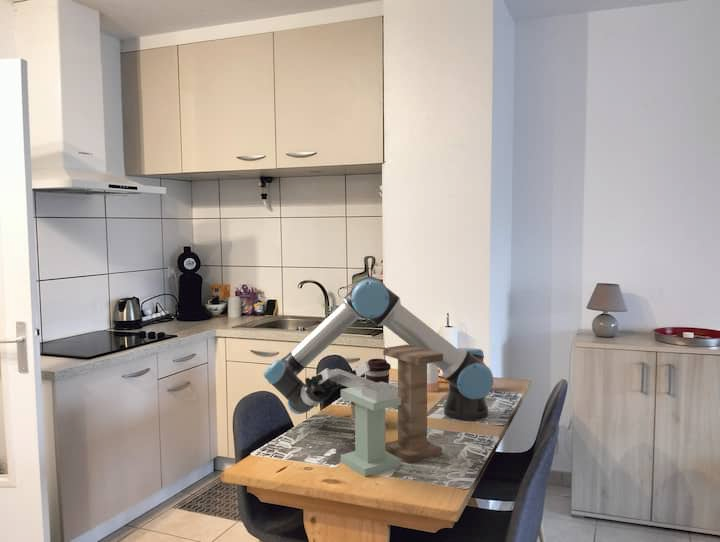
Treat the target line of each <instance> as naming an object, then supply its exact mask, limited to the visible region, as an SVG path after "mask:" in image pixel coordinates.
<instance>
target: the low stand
mask: <svg viewBox="0 0 720 542" xmlns="http://www.w3.org/2000/svg"><path fill="white" fill-rule="evenodd" d="M340 397H341V398H343V399H345V400H347V401H350V402H351V401H352V402H354V403H355V418H354V431H355V432H354V438H355V439H354V441H355V442H354V443H355V445H354V447H355V448H354V449H355V450H354V451H350V452H347V453H342V454H340V463H342V464H343V465H345V466H346V467H349V468H350V469H351V470H352V471H355V472H356V473H358V474H360V475H362V476H363V477H368V476H372V475H374V474H378V473H382V472H384V471H389V470H392V469H396V468H399V467H401V466H402V465H401V461H402V460H401V459H400V458H398V457H396V456H394V455H392V454H390V453H388V452H386V451H385V443H386V409H388V408H392V407H398V405H401V397H398V398H396V399H391V400H387V401H382V402H377V403H376V402H374V401H371V400H369V399H367V398H364V397H362V396H361V392H358V391H356V390H354V389H351V388H349V387H346V388H341V389H340Z"/></svg>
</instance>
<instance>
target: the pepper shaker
mask: <svg viewBox="0 0 720 542" xmlns="http://www.w3.org/2000/svg"><path fill="white" fill-rule="evenodd" d="M439 372H440V371H439V368H438V367H437V366H436V365H434V364H433V363H428V364H427V393H437V392H439V391H440V381H439Z"/></svg>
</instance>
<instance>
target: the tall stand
mask: <svg viewBox="0 0 720 542" xmlns="http://www.w3.org/2000/svg"><path fill="white" fill-rule="evenodd" d="M382 355H383V356H386V357H389V358H393V359H396V360H397V387H398V397H401V405H398V406H397V440H393V441H389V442H385V451H386V452H388V453H390V454H392V455H394V456H396V457H398V458H400V459H401V461H403V462H405V463H407V464H409V465H410V464H412V463H416V462H419V461H423V460H427V459H429V458H434V457H437V456H440V455H442V454H443V453H442V452H443V451H442V450H443V448H442V446H439V445H437V444H434V443H433V442H430V441H428V392H427V364H428V363H433V362H439V361H443V354H442V353H438V352H434V351H430V350H427V349H423V348H419V347H415V346H411V345H409V344H402V345H396V346H387V347H383V353H382Z"/></svg>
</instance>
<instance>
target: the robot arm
mask: <svg viewBox="0 0 720 542" xmlns="http://www.w3.org/2000/svg"><path fill="white" fill-rule="evenodd" d="M342 301H343V302H342V303H341V304H340V305H338V307H337V308H336V309H335V310H334V311H332V312H331V313H330V314H329V315H328V316H327V317H326V318H325V319H324V320H323V321H321V322H320V323H319V325H318V326H316V327H315V328H314V329H313V330H312V331H311V332H310V333H309V334H308V335H307V336H306V337H305V338H303V339H302V340H301V341H300V342H299V343H298V344H297V345H296V346H295V347H293V349H292V350H291V351H290V352H288V354H287V355H285V356H284V357H282V358H281V359H276V360H275V361H273V362H272V363H271V364H270V365H269V367H267V368H266V370H265V371H264V372H263V377H264V378H265V379H266V381H267V382H268V383H269V384H270V385H271V386H273V388H274V389H276V390H277V392H279V393H280V394H281V395H282V396H283V397H285V399H286V400H287V406H288V408H289V410H290V411H291V412H292V413H293V414H296V415H302V414H306V413H307V412H309V411H311V410H312V409H314V408H317V407H318V406H319V404H321V403H323V402H325V401H326V400H328V399H329V398H330V397H331V395H332V394H333V391H334V390H335V389H337V388H343V387H345V386H344V385H341V384H339V383H336V382H334V381H331V380H329V378H330V377H331V376H330V372H329V370H330V369H329V367H326V368H324V369H323V370H322V371H320V372H318V373H317V374H316V375H315V376H314V375H313V376H311V378H310V377H306V378H305V379H304V381H305V382H304V381H302V379H300V378H299V377H298V376H299V374H300V373H302V371H303V370H304V369H306V367H307V366H308V365H310V364H311V363H312V362H313V361H314V360H315V359H316V358H317V357H319V355H321V353H322V352H324V350H326V349H327V348H328V347H329V346H330V345H331V344H332V343H333V342H335V340H337V339H338V338H339V337H340V336H341V335H342V334H343V333H344V332H345V331H346V330H347V329H349V328H350V327H351V326H352V325H353V324H354V323H355V322H356V321H357V320H358V319H364V318H366V319H367V320H369V321H371V322H372V323H373V324H374V325H375V326H377V327H382V326H384V327H385V328H387V329H388V330H390V331H391V332H392V333H393V334H394V335H396V336H398V338H400V339H401V340H403V342H405V343H406V344H407V345H411V346H415V347H419V348H423V349H427V350H430V351H434V352H438V353H442V354H443V361H439V362H433V364H434V365H436V366H437V367H438V369H439V370H441V371H442V375H443V376H442V377H443V379H445V380H446V381H448V384H449V385H448V387H449V389H448V393H447V396H446V400H445V403H444V405H443V414H444V415H445V417H448V418H451V419H454V420H459V421H480V420H483V419H486V418H487V417H488V416H489V408H488V404H487V401H486V398H485V397H486V396H487V395H488V394H490V392H491V390H492V388H493V386H494V376H493V373H492V370H491V369H490V368H489V367H488V366H487V364H485V362H484V358H485V354H484V350H483V349H481V348H480V349H479V348H473V347H472V348H471V347H470V348H469V347H467V348H464V347H463V348H462V347H460V348H458V347H456V346H454V345H453V344H452V343H450V342H449V341H448V340H447V339H445V338H444V337H443V336H442V335H440V334H439V333H438V332H437V331H435V330H434V329H433V328H431V327H430V326H429V325H428V324H426V323H425V322H424V321H423V320H421V319H420V318H419V317H417V316H416V315H414V314H413V313H412V312H411V311H409V309H407V308H406V307H405V306H403V304H402V303H401V298H400V296H398V295H397V294H396V293H394V292H393V291H392V290H390V289H389V288H388V287H387V286H386V284H385V283H384V282H383V281H382V280H381V279H379V278H377V277H374V276H366V277H363V278H361V279H359V280H358V281H357V282H356V283H355V284H354V286H353V287H352V288H351V290H350V291H349V292H348V293H347V294H346V295H345V296H344V297H343V300H342ZM368 371H370V368H369V365H368V361H364V362H363V363H361V364H360V365H359V366H356V367H355V369H354V370H351V371H348V372H349V373H352V374H354V375H357V376H360V377H362V378H366V373H367V372H368Z"/></svg>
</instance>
